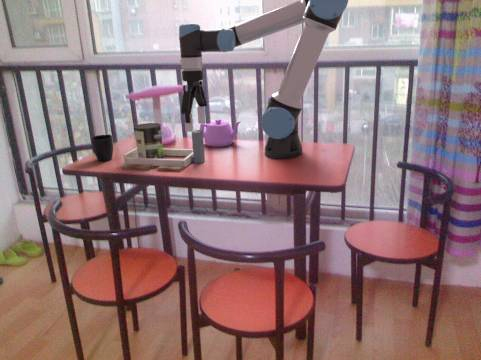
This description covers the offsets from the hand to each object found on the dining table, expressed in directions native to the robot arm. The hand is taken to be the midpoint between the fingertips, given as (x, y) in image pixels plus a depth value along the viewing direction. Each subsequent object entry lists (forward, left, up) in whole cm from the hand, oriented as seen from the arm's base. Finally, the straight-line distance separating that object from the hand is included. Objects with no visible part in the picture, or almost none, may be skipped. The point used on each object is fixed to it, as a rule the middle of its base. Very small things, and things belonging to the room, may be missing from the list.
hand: (195, 127), depth 159 cm
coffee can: (+20, 0, -14) cm, 25 cm away
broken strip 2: (+7, +10, -14) cm, 19 cm away
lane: (+13, 0, -13) cm, 19 cm away
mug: (+40, 0, -14) cm, 43 cm away
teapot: (-1, -27, -14) cm, 30 cm away
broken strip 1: (+21, +10, -14) cm, 27 cm away
